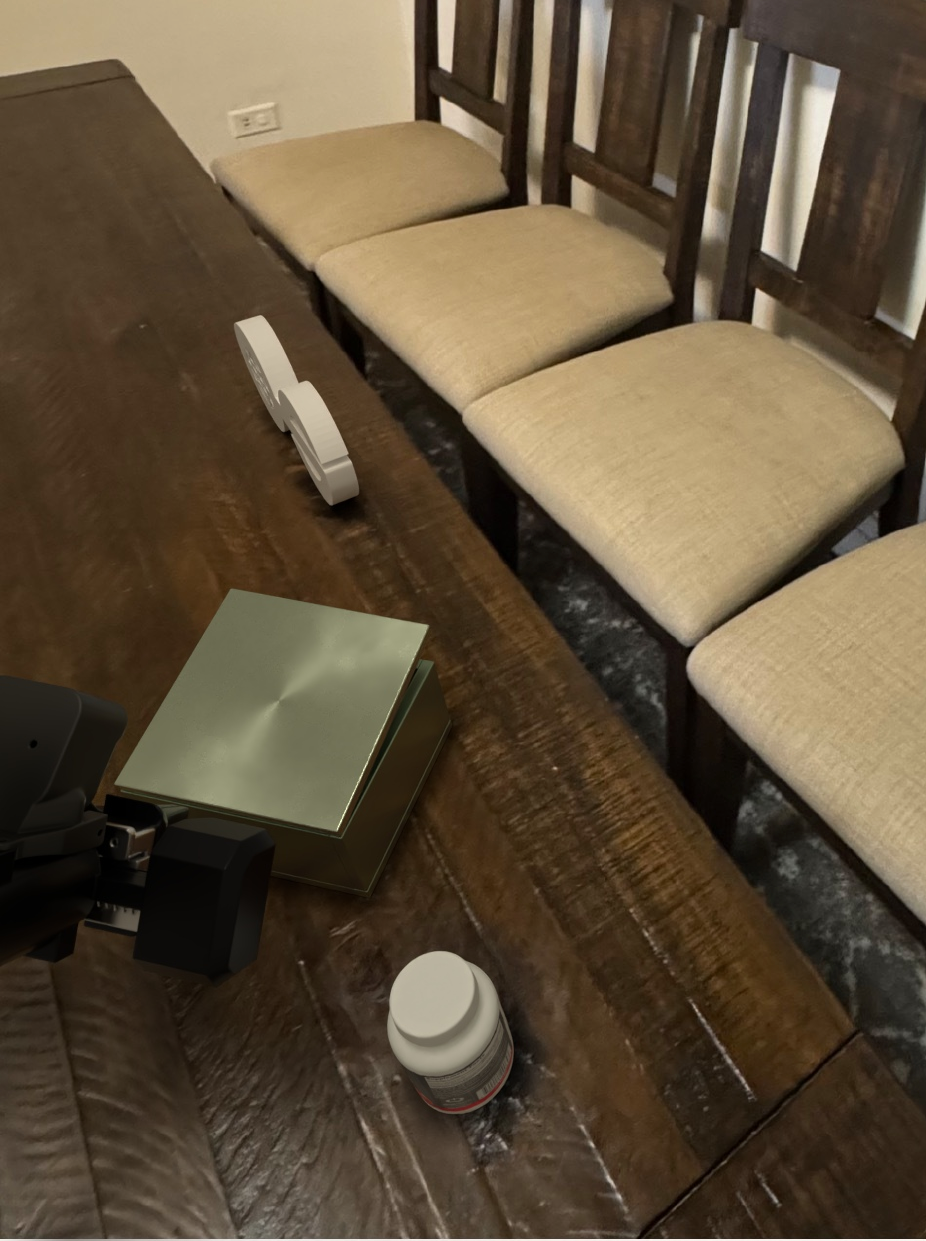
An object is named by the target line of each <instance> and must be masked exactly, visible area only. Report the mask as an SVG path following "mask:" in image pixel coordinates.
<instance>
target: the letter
mask: <svg viewBox="0 0 926 1241" xmlns="http://www.w3.org/2000/svg"><path fill="white" fill-rule="evenodd" d="M233 330H234V334H235V337H236V341H237V344H238V346H239V349H240V352H241V354H242V357H243V359H244V362H245V365H246V368H247V370H248V372H249V374H250V376H251V379H252V380H253V383H254V385H255V387H256V390H257V392H258V393H259V395H260V398H261V399H262V402H263V404H264V405H265V407H266V409H267V411H268V413H269V415H270V416H271V418H272V420H273V421H274V423H275V424H276V426H277V428H278V429H279V430H280V431H281V432H283V433H285V432H289V431H290V432H291V433H290V435H291V438H292V440H293V442H294V445H295V447H296V449H297V451H298V453H299V456H300V458H301V460H302V463H303V464H304V466H305V468H306V470H307V473H308V474H309V476H310V478H311V479H312V482H313V483H314V485H315V487H316V488H317V490H318V491H319V493H320V494H321V496H322V497H323V499H324V500H325V502H326V503H327V504H328V505H329V506H334V505H336V504H340V503H341V502H344V501H347V500H349V499H351V498H354V497H357V496H359V494H360V486H359V481H358V477H357V474H356V471H355V467H354V465H353V462H352V460H351V458H349V456H348V455H349V450H348V449H347V447H346V444H345V442H344V440H343V437H342V434H341V433H340V430H339V428H338V427H337V424H336V422H335V420H334V418H333V416H332V414H331V413H330V411H329V409H328V406H327V405H326V403H325V401H324V400H323V398H322V397H321V395H320V394H319V392H318V391H317V389H316V388H315V386H313V384H312V383H311V382H310V381H308V380H303V381H301V382H299V380H298V379H297V376H296V373H295V371H294V369H293V366H292V365H291V362H290V360H289V358H288V356H287V354H286V351H285V350H284V348H283V346H282V344H281V342H280V340H279V338H278V336H277V335H276V333H275V331H274V329H273V327H272V326H271V325H270V323H269V322H268V320H267V319H266V318H265V317H264V316H263V315H261V314H260V315H259V314H258V315H255V316H253V317H249V318H246V319H242V320H239V321H236V322H234V323H233Z"/></svg>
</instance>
